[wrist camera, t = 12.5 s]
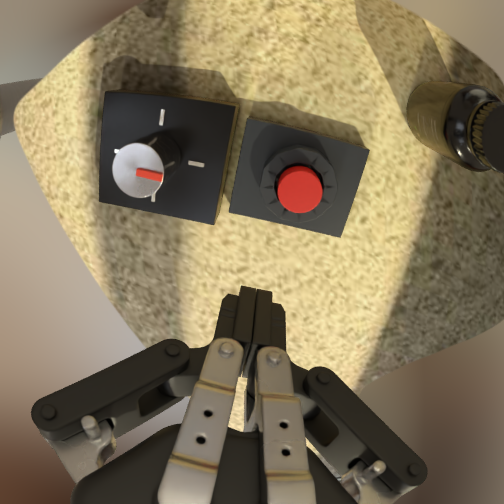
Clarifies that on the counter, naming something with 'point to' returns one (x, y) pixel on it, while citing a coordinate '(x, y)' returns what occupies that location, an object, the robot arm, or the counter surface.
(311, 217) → the button housing
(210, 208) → the stove panel
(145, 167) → the stove knob
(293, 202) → the power button
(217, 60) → the counter surface
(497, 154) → the supplement bottle
